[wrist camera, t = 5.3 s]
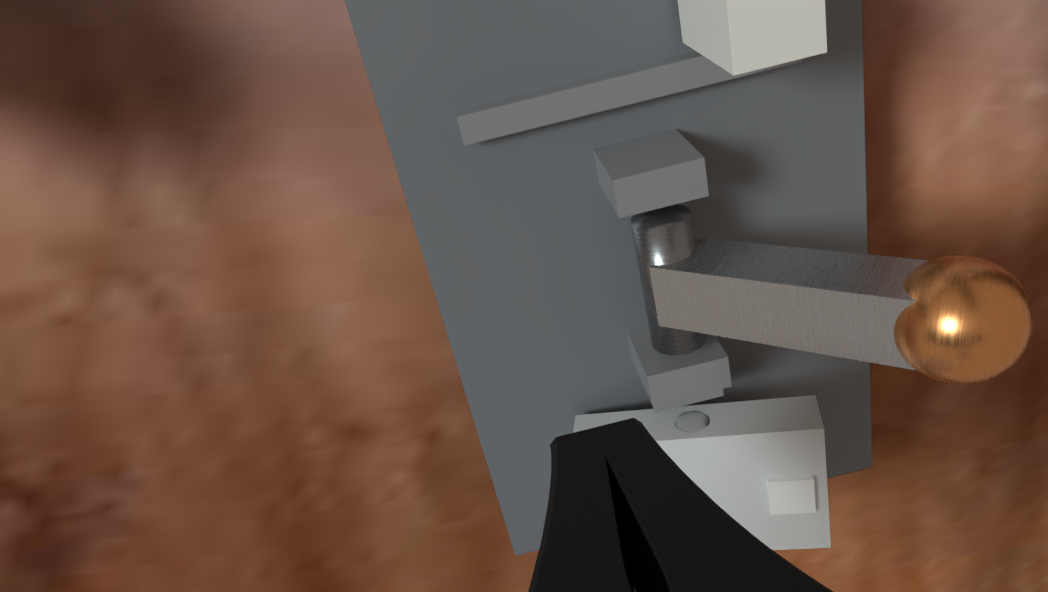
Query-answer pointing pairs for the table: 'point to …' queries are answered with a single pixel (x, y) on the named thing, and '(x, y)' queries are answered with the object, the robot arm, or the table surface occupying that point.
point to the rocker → (749, 462)
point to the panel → (608, 207)
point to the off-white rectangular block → (753, 31)
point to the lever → (830, 301)
